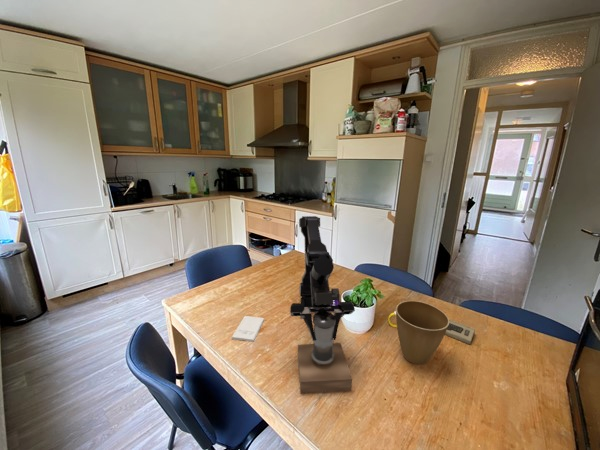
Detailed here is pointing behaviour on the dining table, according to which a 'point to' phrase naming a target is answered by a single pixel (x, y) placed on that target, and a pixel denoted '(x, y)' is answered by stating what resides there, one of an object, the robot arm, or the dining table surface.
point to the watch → (389, 319)
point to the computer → (460, 332)
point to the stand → (323, 372)
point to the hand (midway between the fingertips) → (324, 340)
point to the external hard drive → (248, 328)
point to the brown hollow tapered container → (420, 330)
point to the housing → (323, 338)
